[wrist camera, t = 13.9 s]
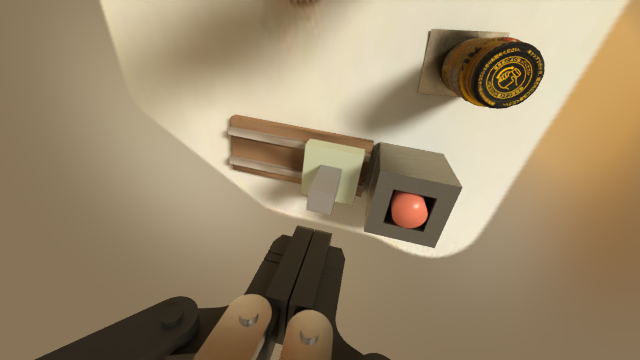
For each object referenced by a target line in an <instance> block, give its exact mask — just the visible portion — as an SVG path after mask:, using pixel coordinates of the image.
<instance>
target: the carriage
mask: <svg viewBox="0 0 640 360" xmlns="http://www.w3.org/2000/svg"><path fill="white" fill-rule="evenodd" d="M364 154H365V149H361V148H356V147H351V146H346V145H341V144H336V143H330V142H325V141H320V140H315V139H309V140H308V142H307V143H306V145H305V155H304V164H303V174H302V183H301V193H300V194H303V195H307V196H308V201H307V209H306V210H309V211H313V212H318V213H322V214H326V215H331V212H332V209H333V206H334V202H339V203H343V204H348V205H352V206H353V203H354V198H355V194H356V189H357V185H358V181H359V176H360V172H361V168H362V163H363V159H364Z"/></svg>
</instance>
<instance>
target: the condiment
mask: <svg viewBox="0 0 640 360" xmlns="http://www.w3.org/2000/svg"><path fill="white" fill-rule="evenodd" d="M508 36H509V33H507V32H484V31H463V30H441V29H432V30H431V34H430V38H429V43H428V47H427V52H426V56H425V60H424V65H423V69H422V75H421V79H420V83H419V88H418V92H417V93H422V94H433V95H446V96H459V97H462V98H463V99H464V100H465V101H468V102H470V103H472V104H474V105H477V106H483V107H489V108H496V109H501V108H508V107H510V106H513V105H517V104H520V103H521V102H523V101H524V100H526V99H527V98H528V97H529V96H530V95H531V94H532V93H533V92H534V91H535V90H536V89H537V87H538V85H539V83H540V81H541V80H542V78H543V75H544V60H543V57H542V55H541V53H540V51H539V50H537V48H536V47H534V46H533V45H530V44H528V43H524V42H521V41H520V40H517V39H514V38H510V37H508Z"/></svg>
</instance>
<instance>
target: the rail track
mask: <svg viewBox="0 0 640 360" xmlns="http://www.w3.org/2000/svg"><path fill="white" fill-rule="evenodd" d="M228 134H229V135H231V136H232V156H231V157H230V158H229V163H230V164H233V169H235V170H240V171H244V172H249V173H254V174H258V175H263V176H267V177H272V178H277V179H281V180H286V181H290V182H295V183H300V184H301V183H302V174H303V164H304V155H305V145H306V143H307V142H308V140H309V139H315V140H320V141H325V142H330V143H336V144H341V145H346V146H351V147H356V148H361V149H365V154H364V159H363V163H362V168H361V172H360V176H359V181H358V185H357V189H356V194H355V196H359V197H361V194H362V191H363V187H364V181H365V177H366V173H367V169H368V165H369V162H370V158H371V152H372V148H373V144H374V141H372V140H366V139H361V138H356V137H351V136H345V135H340V134H335V133H330V132H324V131H319V130H314V129H308V128H303V127H298V126H293V125H287V124H282V123H277V122H272V121H266V120H261V119H256V118H251V117H245V116H240V115H234V116H232V117H231V127H229V128H228Z"/></svg>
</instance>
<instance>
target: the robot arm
mask: <svg viewBox="0 0 640 360" xmlns="http://www.w3.org/2000/svg"><path fill="white" fill-rule="evenodd" d="M331 237H332V233H328V232H324V231H320V230H315V232H314V229H311V228H307V227H302V226H297V227H296V230H295V232H294V234H293V236H292V237H291V236H287V235H281V236H280V237H279V238H277V239H276V240H275V241H274V242H273V243H272V245H271V247H270V249H269V251H268V253H267V254H266V256H265V258H264V261H263V262H262V264H261V265H260V267H259V269H258V271H257V273H256V274H255V276H254V278H253V280H252V282H251V284H250V285H249V287H248V289H247V291H246V293H245V294H244V295H243V296H241V297H239V298H237V299H236V300H235V301H233V302H232V303H231V304H230V305H228V306H225V307H219V308H199V309H198V307H197V304H196V303H195V301H193V300H192V299H191V298H188V297H182V296H179V297H173V298H170V299H167V300H165V301H162V302H160V303H158V304H156V305H154V306H152V307H149V308H147V309H145V310H143V311H141V312H138V313H136V314H134V315H132V316H130V317H127V318H125V319H123V320H121V321H119V322H116V323H114V324H112V325H110V326H108V327H105V328H104V329H101V330H99V331H97V332H94V333H92V334H90V335H88V336H86V337H83V338H81V339H79V340H77V341H75V342H73V343H70V344H68V345H66V346H64V347H61V348H59V349H57V350H55V351H53V352H51V353H48V354H46V355H44V356H42V357H40V358H38V359H35V360H270V358H271V355H272V352H273V349H274V346H275V344H276V343H278V344H281V345H283V346H282V350H281V354H280V359H279V360H390V359H389V358H387V357H385V356H384V355H381V354H378V353H369V354H366V355H363V354H361V353H360V352H358V351H357V350H356V349H354V348H353V347H351V346H350V345H349V344H347V343H346V342H345V341H344V340H343V338H342V337H341V336H340V334H339V332H338V330H337V327H336V322H335V317H336V310H337V304H338V298H339V292H340V286H341V280H342V274H343V268H344V262H345V257H344V255H343V252H342V249H341V248H337V247H333V246H330V242H331Z"/></svg>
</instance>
